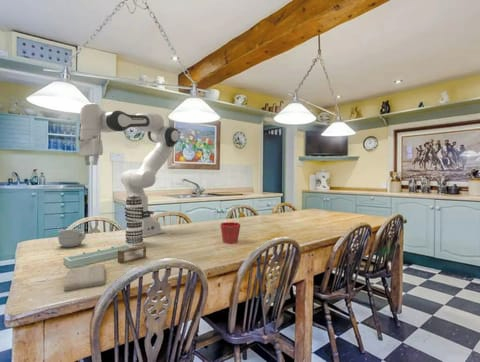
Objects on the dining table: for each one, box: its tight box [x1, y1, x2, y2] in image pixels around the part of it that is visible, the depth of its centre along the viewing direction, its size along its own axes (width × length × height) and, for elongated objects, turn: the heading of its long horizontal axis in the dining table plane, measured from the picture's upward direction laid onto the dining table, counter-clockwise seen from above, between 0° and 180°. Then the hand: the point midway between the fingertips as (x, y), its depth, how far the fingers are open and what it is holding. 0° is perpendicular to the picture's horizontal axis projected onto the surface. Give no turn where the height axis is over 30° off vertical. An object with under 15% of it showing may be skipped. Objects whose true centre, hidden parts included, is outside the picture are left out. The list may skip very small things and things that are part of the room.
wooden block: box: [117, 244, 147, 265], centre depth 117 cm, size 11×3×5 cm, turn 139°
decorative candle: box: [124, 195, 144, 247], centre depth 144 cm, size 9×9×25 cm
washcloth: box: [63, 263, 106, 291], centre depth 96 cm, size 12×18×3 cm, turn 28°
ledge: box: [63, 244, 134, 269], centre depth 119 cm, size 27×8×3 cm, turn 139°
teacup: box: [57, 228, 86, 248], centre depth 138 cm, size 14×11×8 cm
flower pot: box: [220, 221, 241, 244], centre depth 148 cm, size 11×11×10 cm
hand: (91, 165), depth 135 cm, fingers open, 8 cm apart
